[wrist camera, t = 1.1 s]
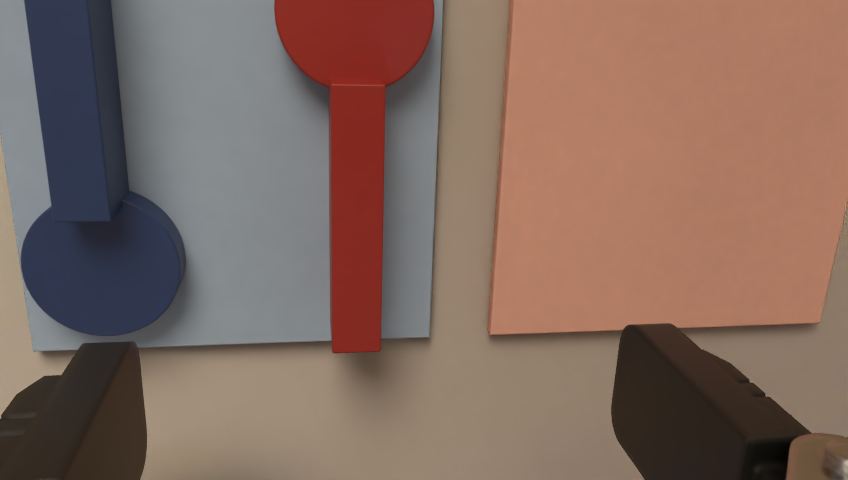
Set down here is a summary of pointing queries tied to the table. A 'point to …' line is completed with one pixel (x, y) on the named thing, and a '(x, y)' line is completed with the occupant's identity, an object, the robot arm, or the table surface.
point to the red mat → (669, 163)
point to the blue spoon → (91, 185)
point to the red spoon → (355, 136)
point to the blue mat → (235, 172)
